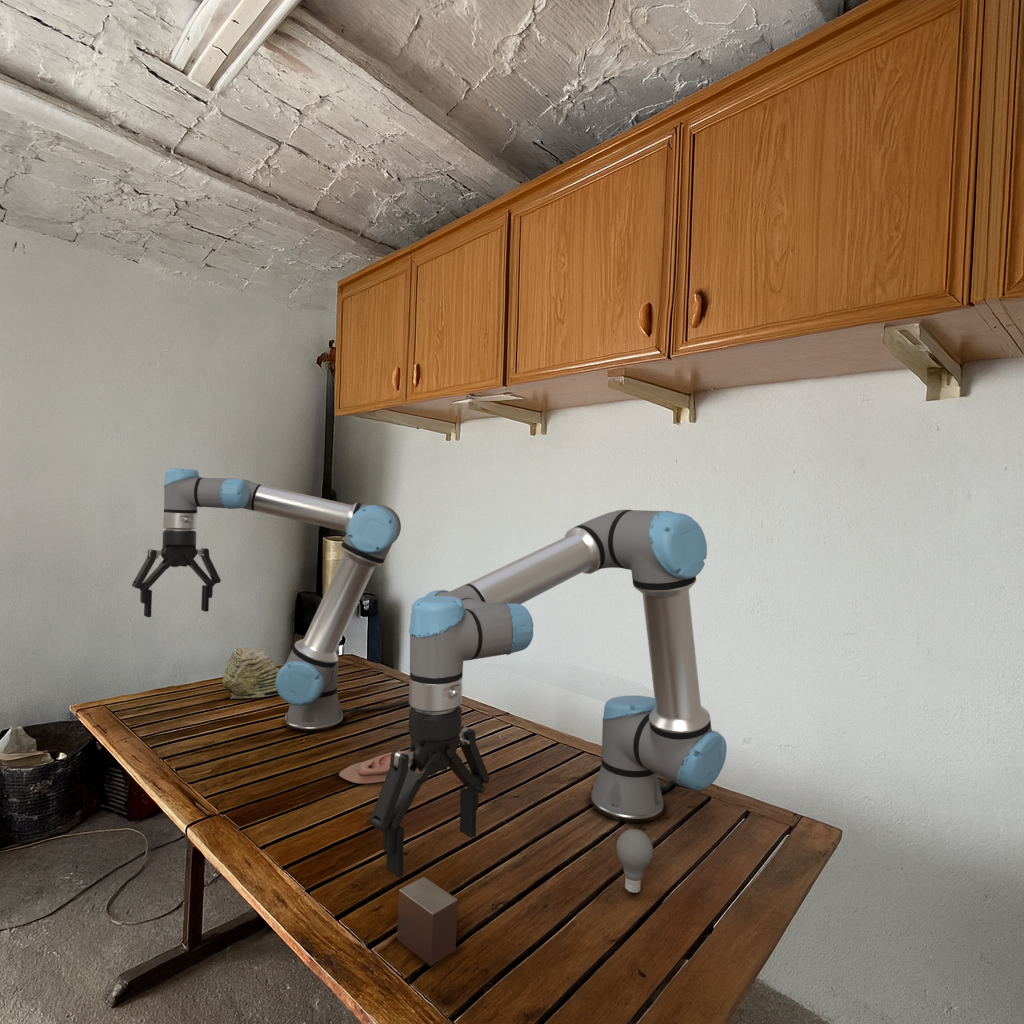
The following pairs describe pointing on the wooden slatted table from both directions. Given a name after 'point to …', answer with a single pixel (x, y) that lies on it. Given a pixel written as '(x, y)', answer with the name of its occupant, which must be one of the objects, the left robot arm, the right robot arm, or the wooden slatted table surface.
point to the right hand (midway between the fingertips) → (433, 852)
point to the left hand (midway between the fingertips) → (177, 613)
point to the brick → (427, 920)
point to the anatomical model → (368, 770)
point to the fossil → (250, 674)
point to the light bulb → (634, 857)
